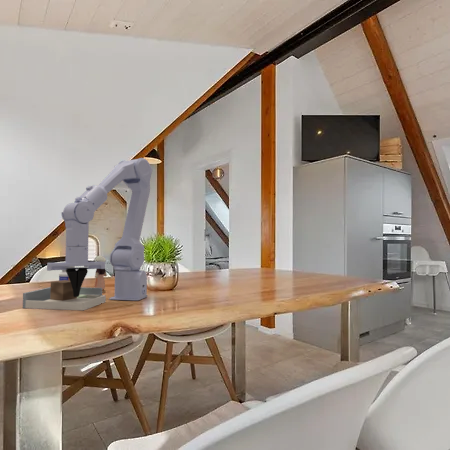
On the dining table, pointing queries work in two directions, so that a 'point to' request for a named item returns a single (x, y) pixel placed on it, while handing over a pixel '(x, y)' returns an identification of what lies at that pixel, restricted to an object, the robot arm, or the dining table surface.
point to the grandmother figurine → (100, 275)
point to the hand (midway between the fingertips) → (76, 296)
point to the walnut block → (61, 290)
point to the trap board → (43, 301)
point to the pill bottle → (64, 274)
